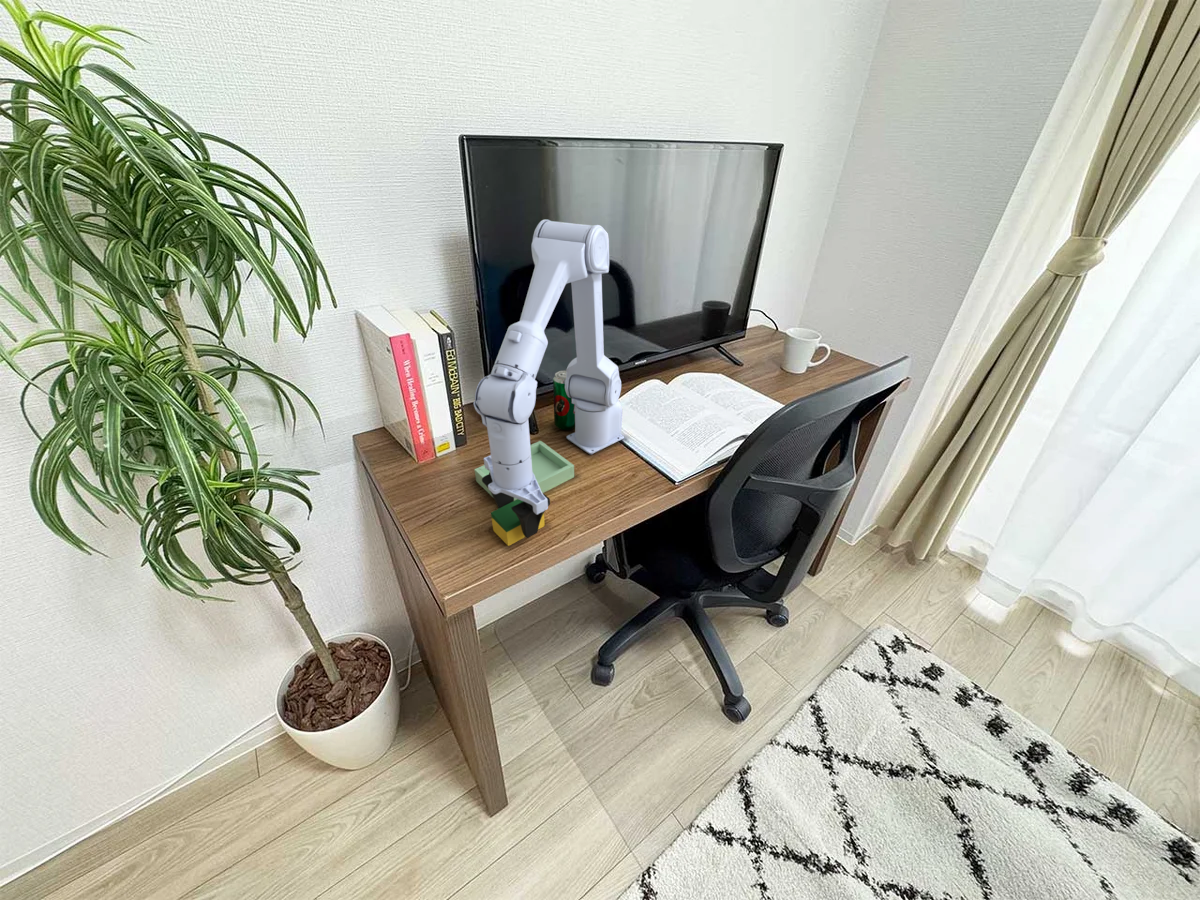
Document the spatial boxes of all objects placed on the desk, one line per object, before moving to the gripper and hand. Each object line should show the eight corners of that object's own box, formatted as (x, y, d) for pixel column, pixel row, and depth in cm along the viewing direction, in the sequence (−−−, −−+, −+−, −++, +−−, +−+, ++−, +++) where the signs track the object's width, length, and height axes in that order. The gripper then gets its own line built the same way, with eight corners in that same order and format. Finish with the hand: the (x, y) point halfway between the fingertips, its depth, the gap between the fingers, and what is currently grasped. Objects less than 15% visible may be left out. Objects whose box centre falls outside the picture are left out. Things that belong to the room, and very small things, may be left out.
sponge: (529, 511, 80) (527, 493, 78) (544, 526, 77) (543, 507, 75) (493, 530, 76) (490, 512, 74) (508, 546, 74) (505, 528, 71)
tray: (541, 451, 95) (540, 440, 93) (574, 477, 88) (574, 465, 87) (476, 481, 87) (474, 469, 85) (507, 511, 80) (505, 498, 79)
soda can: (579, 430, 101) (579, 378, 95) (556, 432, 100) (554, 380, 94) (575, 419, 105) (575, 368, 99) (552, 421, 104) (551, 370, 98)
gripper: (461, 441, 70) (473, 509, 78) (515, 489, 62) (522, 560, 69) (502, 425, 74) (510, 491, 82) (558, 468, 66) (561, 538, 73)
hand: (518, 522), depth 76 cm, fingers open, 6 cm apart
